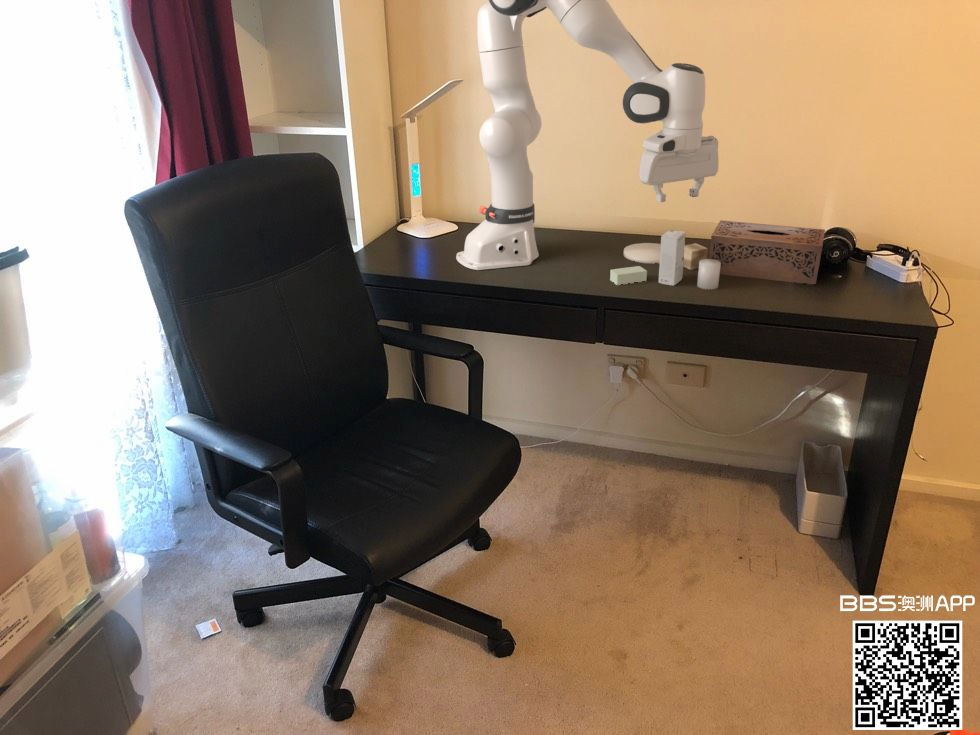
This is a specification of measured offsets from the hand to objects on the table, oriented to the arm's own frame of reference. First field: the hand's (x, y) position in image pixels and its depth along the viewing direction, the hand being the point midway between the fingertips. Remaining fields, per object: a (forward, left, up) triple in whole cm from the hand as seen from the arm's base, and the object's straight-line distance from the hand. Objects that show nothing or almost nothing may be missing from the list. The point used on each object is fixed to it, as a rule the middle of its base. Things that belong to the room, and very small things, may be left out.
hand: (677, 199), depth 190 cm
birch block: (+12, +7, -21) cm, 25 cm away
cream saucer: (+7, +19, -21) cm, 29 cm away
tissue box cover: (+26, -4, -21) cm, 34 cm away
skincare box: (0, 0, -21) cm, 21 cm away
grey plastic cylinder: (+6, -7, -21) cm, 23 cm away
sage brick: (-9, +5, -21) cm, 23 cm away
